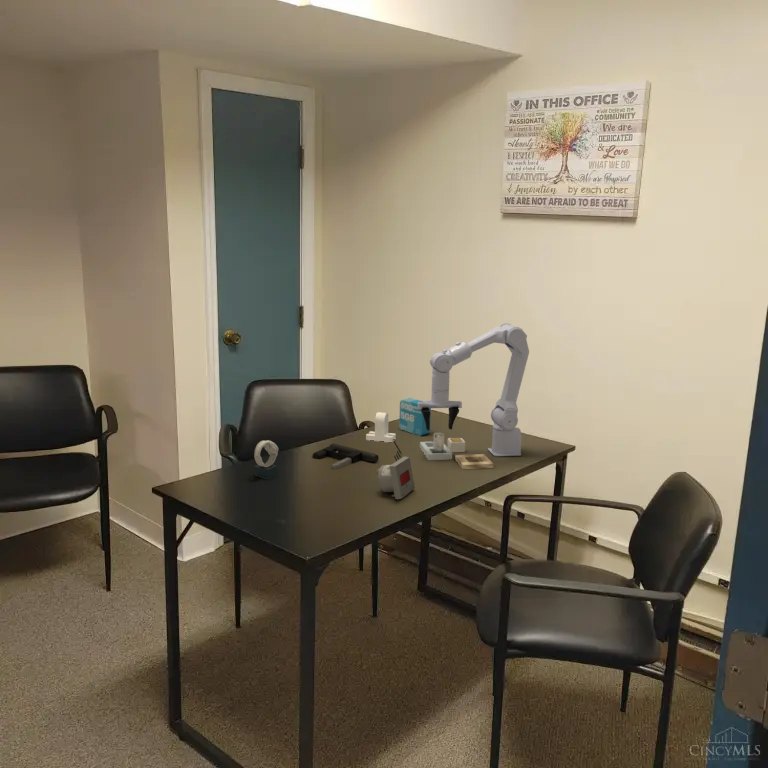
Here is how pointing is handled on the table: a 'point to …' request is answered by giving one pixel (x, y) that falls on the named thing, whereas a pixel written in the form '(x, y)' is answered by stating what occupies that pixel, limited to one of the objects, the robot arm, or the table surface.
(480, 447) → the table surface
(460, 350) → the robot arm
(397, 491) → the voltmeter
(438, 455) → the frame
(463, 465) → the wooden square frame
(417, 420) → the data package
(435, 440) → the grey rounded cylinder
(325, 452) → the submachine gun
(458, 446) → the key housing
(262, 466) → the grey ring on stand
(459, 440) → the key
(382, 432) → the cable organizer
